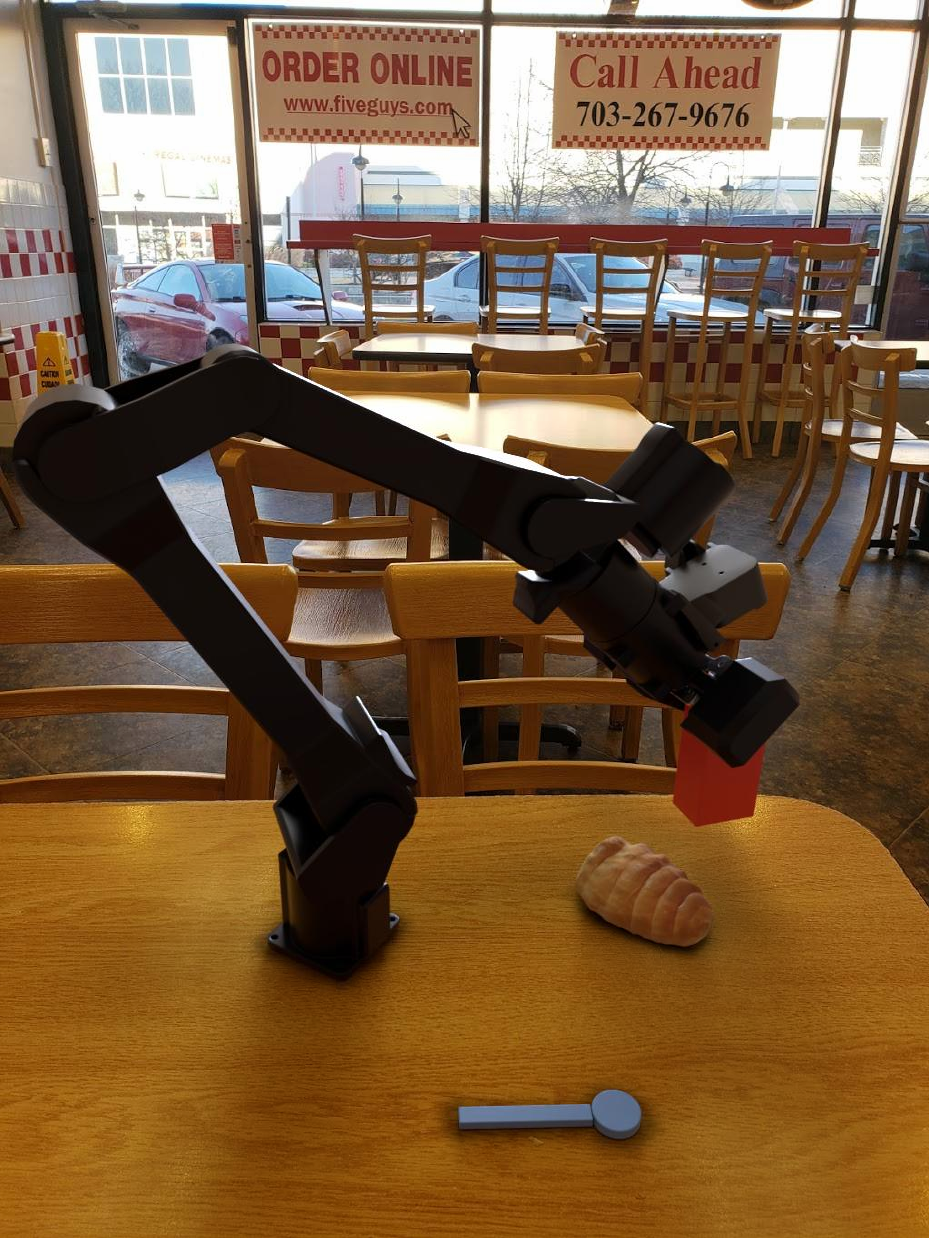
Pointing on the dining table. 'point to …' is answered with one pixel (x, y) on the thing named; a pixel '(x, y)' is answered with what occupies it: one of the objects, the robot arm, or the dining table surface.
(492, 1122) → the spoon
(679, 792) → the fries carton
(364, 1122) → the dining table surface
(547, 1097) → the dining table surface
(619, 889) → the pastry
